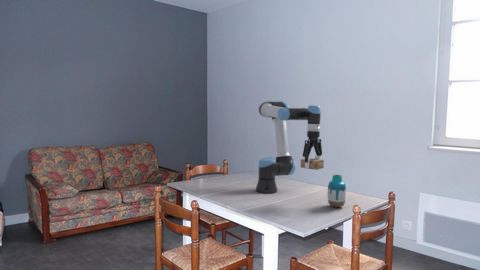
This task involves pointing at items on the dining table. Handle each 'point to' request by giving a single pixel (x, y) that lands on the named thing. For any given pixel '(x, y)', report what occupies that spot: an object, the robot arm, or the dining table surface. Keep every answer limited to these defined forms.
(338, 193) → the vase
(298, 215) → the dining table surface
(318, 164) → the brown rectangular block
